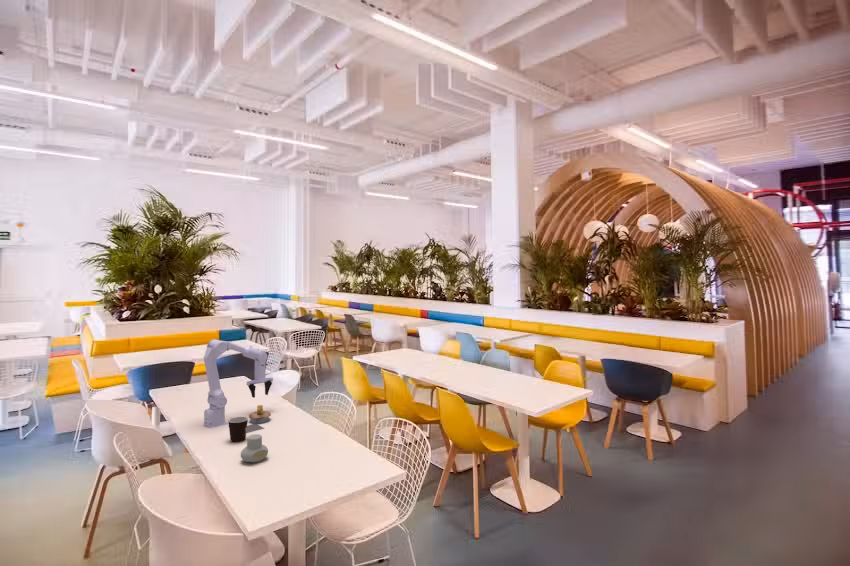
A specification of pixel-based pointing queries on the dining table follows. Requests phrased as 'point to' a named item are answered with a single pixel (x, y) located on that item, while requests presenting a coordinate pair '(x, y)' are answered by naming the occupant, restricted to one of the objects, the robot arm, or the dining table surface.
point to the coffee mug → (238, 428)
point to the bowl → (259, 420)
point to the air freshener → (254, 449)
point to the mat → (253, 428)
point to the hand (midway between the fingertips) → (260, 395)
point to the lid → (259, 413)
